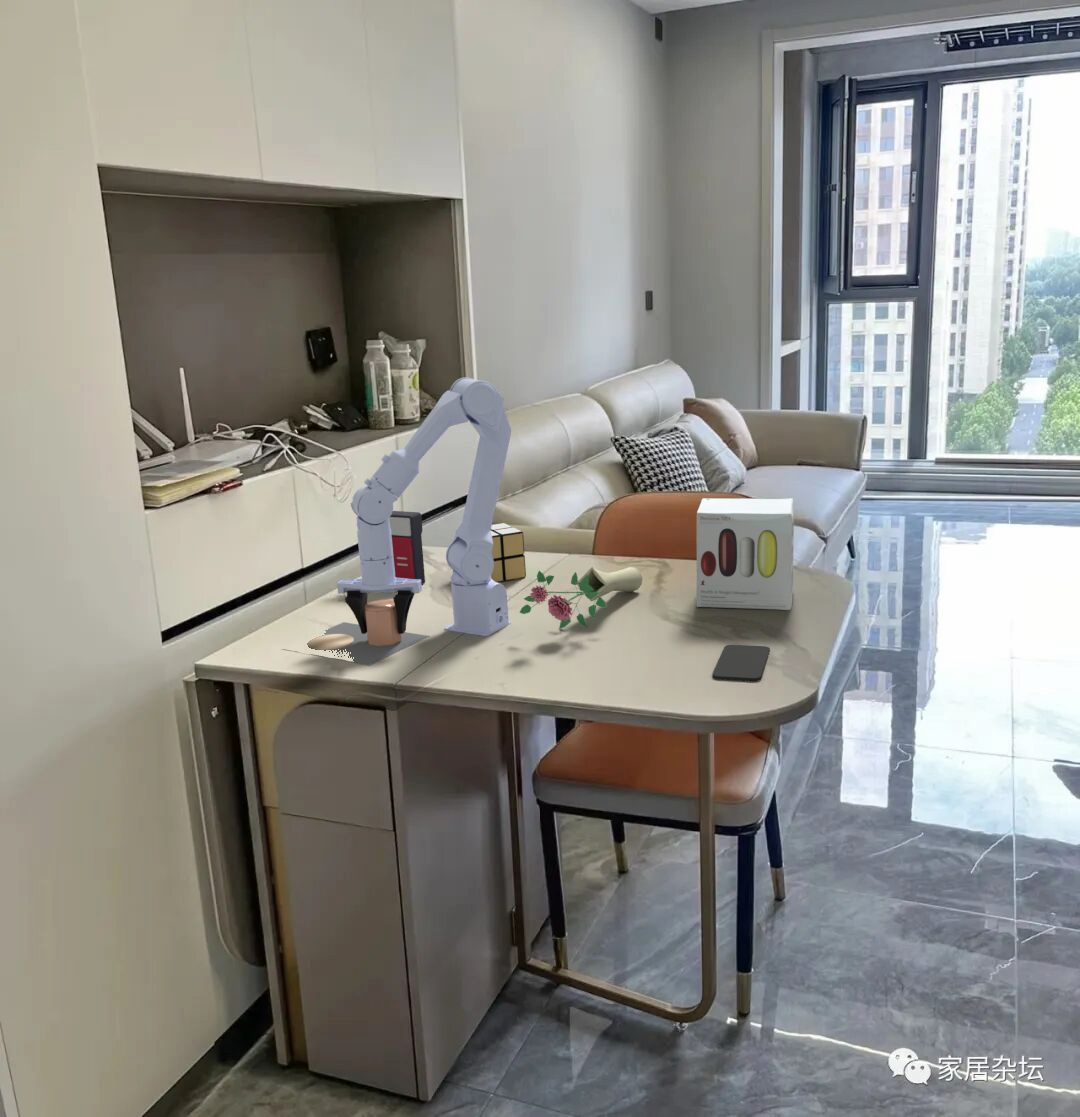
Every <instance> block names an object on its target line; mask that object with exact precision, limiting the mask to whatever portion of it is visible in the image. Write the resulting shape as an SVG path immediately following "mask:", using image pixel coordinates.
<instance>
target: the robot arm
mask: <svg viewBox="0 0 1080 1117" xmlns="http://www.w3.org/2000/svg"><path fill="white" fill-rule="evenodd" d="M504 403H505V402H504V397H503V395H502V394H501V393H500V392H499V390H497V388H496V387H495V385H494V384H492V383H491V382H489V381H487V380H486V381H485V380H478V379H474V378H472V377H468V376H466V377H464V376H463V377H460V378H458V379H457V380H455V381H454V382H453V384H452V385H451V386H450V388H449V390H446V391H445V392H444V393H443V394H442V395H441V397H440V398H439V400H438V401H437V402H436V404H435V405H434V407H433V408H432V409H431V411H430V412H429V414H428V415H427V416H426V418H425V419H424V421H423V422H422V423H421V425H419V427H418V429H417V430H416V431H415V433H414V434H413V435H412V436H411V438H410V439H409V441H408V442H407V444H406V445H405V447H404V448H402V449H398V450H392V451H391V453H390V454H387V453H385V454H384V455H383V456H382V458H381V461H382V462H383V463H381V465H380V466H379V467H378V468H377V470H376V471H375V473H373V475H372V476H371V477H370V478H369V477H368V478H365V480H364V481H363V482H364V484H365V485H364V486H362V487H360V488H358V489H357V490H356V491H355V493H354V494H353V496H352V501H351V503H350V507H351V510H352V511H353V514H355V515H356V527H357V532H356V535H357V543H358V544H357V545H358V552H359V553H358V554H359V555H358V556H359V562H360V573H361V578H353V579H341V580H339V581H338V582H336V585H337V586H336V587H337V594H338V595H339V594H340V595H341V594H343V595H344V594H345V593H346V597H344V601H345V603H346V604H347V606H348V607H349V608H350V610H351V611H352V613H353V615H354V617H355V619H356V621H357V624H358V625H359V627H360V629H361V633H362V634H366V633H367V626H366V617H365V605H366V604H367V603H368V593H397V594H395V595H394V596H393V601H394V603H395V607H396V612H397V622H398V632H399V634H403V633H404V632H406V630H407V622H408V621H407V620H408V616H409V615H408V614H409V610H410V607H411V605H412V602H413V598H414V596H415V594H420V593H421V592H422V590H423V587H422V586H423V584H421V580H419V579H405V578H396V577H395V568H394V557H393V547H392V536H391V529H390V522H389V517H390V516H391V514H392V512H393V511H394V503H395V502H396V501H398V499H399V498H400V497H401V496H402V494H403V493H404V492H405V490H406V489H407V488H408V487H409V486H410V484H411V483H412V482H413V481H414V479H415V478H416V477H417V476H418V474H420V460H422V459H423V457H424V456H426V454H427V452H428V451H430V449H431V448H432V447H433V446H434V445H435V444H436V442H437V441H438V440H439V439H440V438H441V437H442V436H443V435H444V433H446V431H447V430H448V429H449V428H450V427H452V426H456V425H460V424H465V423H467V422H469V423H470V424H471V425H472V427H473V428H474V429H475V432H477V434H478V436H479V440H478V444H477V448H476V454H475V457H474V458H475V459H474V463H473V467H472V468H473V469H472V473H471V476H470V477H471V478H470V481H469V486H468V492H467V497H466V502H465V506H464V510H463V511H464V512H463V517H462V521H461V523H460V525H459V526H458V528H457V529H456V531H455V534H454V537H453V540H452V541H451V543H450V544H449V545H448V546H447V548H446V552H445V560H446V563H447V566H448V567H449V568H450V569H451V570H452V574H451V576H450V586H451V587H450V588H451V598H452V599H451V601H452V614H453V623H451V624H449V625H447V626H444V630H445V631H451V632H458V633H464V634H470V635H475V636H476V635H478V636H483V637H488V636H491V635H492V634H494V633H496V632H497V631H499V630H501V629H503V628H506V627H507V626H509V625H511V624H512V621H510V620H509V607H508V594H507V589H506V587H505V585H504V584H502V583H501V582H498V583H497V582H495V581H493V580H492V579H491V574H492V572H493V569H494V560H493V557H492V548H493V540H492V535H491V526H492V525H493V520H494V516H495V510H496V506H497V502H498V496H499V493H500V487H501V484H502V478H503V473H504V468H505V462H506V459H507V456H508V455H507V453H508V450H509V445H510V440H511V436H512V428H511V425H510V422H509V418H508V415H507V411H506V409H505V406H504Z"/></svg>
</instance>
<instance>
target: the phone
mask: <svg viewBox="0 0 1080 1117" xmlns="http://www.w3.org/2000/svg"><path fill="white" fill-rule="evenodd" d="M769 652H770V653H771V648H770V647H769V646H765V645H750V644H749V645H748V644H747V645H746V644H727V645H724V647H723V649H722V651H721V653H720V656H719V658H718V660H717V662H716V665H715V666H714V669H713V671H712V674H711V675H712V679H715V680H717V681H718V680H719V681H734V682H735V681H737V682H750V683H753V682H754V683H755V682H760V681H761V680H762V678H763V674H764V673H765V672H764V671H765V669H766V665H767V662H768V658H769V656H770V653H769ZM768 655H769V656H768Z"/></svg>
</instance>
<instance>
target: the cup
mask: <svg viewBox="0 0 1080 1117" xmlns="http://www.w3.org/2000/svg"><path fill="white" fill-rule="evenodd" d="M365 617H366V626H367V637H368V642H369V644H370V645H376V646H384V645H392V644H395V643H397V642H399V641H401V634H399V632H398V622H397V612H396V607H395V603H394V600H392V599H379V600H373V601H369V602H367V604H366V605H365Z"/></svg>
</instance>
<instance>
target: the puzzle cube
mask: <svg viewBox="0 0 1080 1117" xmlns="http://www.w3.org/2000/svg"><path fill="white" fill-rule="evenodd" d="M491 535H492V540H493V548H492V557H493V560H494V569H493V572H492V574H491V579H492V580H493V581H495V582H497V583H502V582H508V581H513V580H520V579H524V578H526V577H527V573H526V572H527V571H526V570H527V569H526V559H525V558H526V557H525V541H524V540H525V538H524V532H523V531H522V530H520V529H518V528H516V527H513V526H511V525H509V524H507V523H504V522H502V523H501V522H500V523H495V524H492V526H491Z"/></svg>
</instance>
